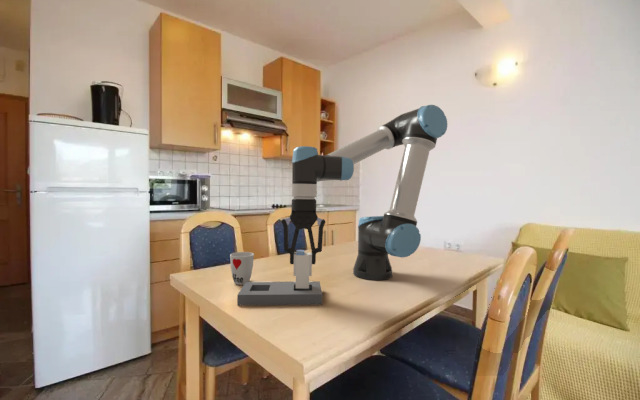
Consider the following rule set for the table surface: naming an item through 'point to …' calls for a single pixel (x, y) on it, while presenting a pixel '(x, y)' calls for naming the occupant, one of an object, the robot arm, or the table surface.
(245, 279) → the cup
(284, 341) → the table surface
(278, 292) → the panel
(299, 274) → the plug
